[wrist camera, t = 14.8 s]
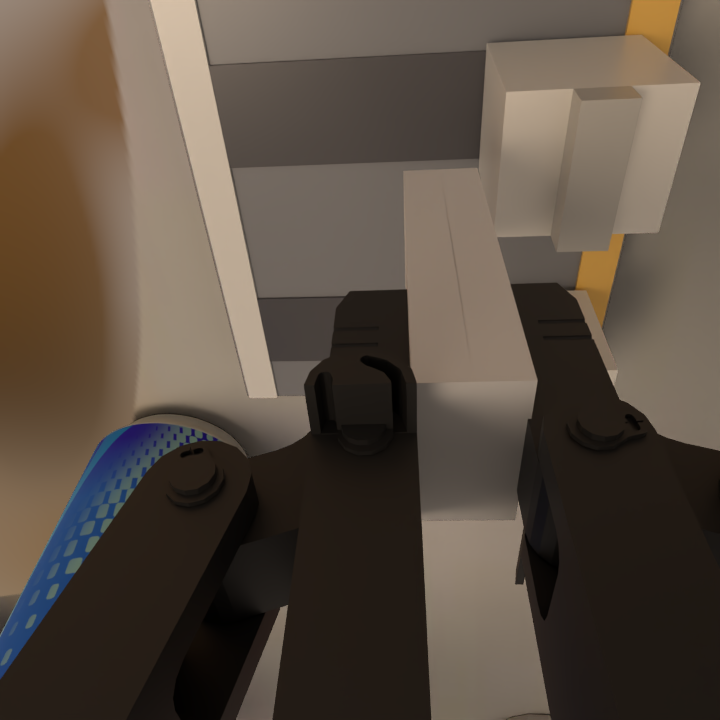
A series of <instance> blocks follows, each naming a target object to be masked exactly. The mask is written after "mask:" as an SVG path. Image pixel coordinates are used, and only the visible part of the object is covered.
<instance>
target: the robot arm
mask: <svg viewBox="0 0 720 720" xmlns="http://www.w3.org/2000/svg"><path fill="white" fill-rule="evenodd" d="M403 180H404V236H405V289H399V290H367V291H349V293H348V294H347V295H346V296H345V298H344V299H343V300H342V301H341V303H340V304H339V305H338V306H337V307H336V311H335V319H334V327H333V328H334V332H333V335H332V343H331V344H332V348H331V351H330V357H329V358H326V359H324V360H322V361H321V362H320V363H319V364H318V365H317V366H315V367H314V368H313V369H312V370H311V371H310V372H309V375H308V377H307V379H306V381H305V383H304V391H305V397H306V403H307V410H308V416H309V422H310V428H311V431H310V432H309V433H308V434H307V435H306V436H305V437H304V438H302V439H300V440H299V441H297V442H295V443H294V444H292V445H290V446H287V447H285V448H282V449H279V450H276V451H273V452H269V453H266V454H262V455H258V456H255V457H251V458H247V457H246V456H245V455H244V454H243V453H242V452H241V451H240V450H239V449H238V448H237V447H235V446H232V445H230V444H227V443H224V442H222V441H197V442H194V443H190V444H186V445H182V446H179V447H177V448H176V449H174V450H172V451H170V452H169V453H167V454H165V455H163V456H162V457H160V458H159V459H158V461H157V462H156V463H155V464H154V465H153V466H152V467H151V468H150V469H149V470H148V471H147V472H146V473H145V475H144V476H143V478H142V479H141V480H140V482H139V483H138V485H137V486H136V487H135V489H134V490H133V492H132V493H131V495H130V496H129V497H128V499H127V500H126V502H125V503H124V504H123V506H122V507H121V509H120V510H119V512H118V513H117V514H116V516H115V517H114V519H113V520H112V522H111V523H110V524H109V526H108V527H107V529H106V530H105V531H104V533H103V534H102V536H101V537H100V539H99V540H98V541H97V543H96V544H95V546H94V547H93V548H92V550H91V551H90V553H89V554H88V556H87V557H86V558H85V560H84V561H83V563H82V564H81V566H80V567H79V568H78V570H77V571H76V573H75V574H74V575H73V577H72V578H71V580H70V581H69V583H68V584H67V585H66V587H65V588H64V590H63V591H62V592H61V594H60V595H59V597H58V598H57V600H56V601H55V602H54V604H53V605H52V607H51V608H50V610H49V611H48V612H47V614H46V615H45V617H44V618H43V619H42V621H41V622H40V624H39V625H38V627H37V628H36V629H35V631H34V632H33V634H32V635H31V636H30V638H29V639H28V641H27V642H26V644H25V645H24V646H23V648H22V649H21V651H20V652H19V653H18V655H17V656H16V658H15V659H14V661H13V662H12V663H11V665H10V666H9V668H8V669H7V671H6V672H5V673H4V675H3V676H2V678H1V679H0V720H236V717H237V715H238V712H239V710H240V707H241V705H242V702H243V700H244V697H245V695H246V692H247V690H248V687H249V685H250V682H251V680H252V677H253V675H254V672H255V670H256V667H257V665H258V662H259V660H260V657H261V655H262V652H263V650H264V648H265V645H266V643H267V640H268V638H269V635H270V633H271V630H272V628H273V625H274V623H275V620H276V618H277V615H278V613H279V610H280V607H283V606H286V605H288V611H287V618H286V625H285V633H284V640H283V647H282V655H281V662H280V669H279V677H278V684H277V691H276V699H275V706H274V713H273V720H431V706H430V686H429V665H428V645H427V624H426V604H425V584H424V563H423V543H422V523H421V520H515V518H516V511H517V505H518V500H519V505H520V510H521V515H522V520H523V525H524V528H523V534H522V540H521V545H520V551H519V557H518V562H517V568H516V582H515V584H523V583H524V578H525V580H526V585H527V591H528V596H529V602H530V607H531V612H532V618H533V623H534V629H535V634H536V640H537V645H538V650H539V656H540V661H541V667H542V672H543V678H544V683H545V688H546V694H547V699H548V705H549V710H550V716H551V720H720V451H718V450H713V449H709V448H704V447H699V446H695V445H690V444H686V443H682V442H679V441H675V440H672V439H668V438H666V437H664V436H661V435H659V434H657V432H656V430H655V428H654V427H653V426H652V424H651V423H650V422H649V420H648V419H647V418H646V416H645V415H644V414H643V413H641V412H640V411H638V410H637V409H635V408H634V407H633V406H631V405H630V404H628V403H627V402H624V401H621V400H619V397H618V395H617V393H616V390H615V388H614V386H613V383H612V381H611V379H610V376H609V374H608V372H607V369H606V367H605V364H604V362H603V360H602V357H601V355H600V353H599V350H598V348H597V346H596V343H595V341H594V339H592V334H591V332H590V329H589V327H588V325H587V323H585V318H584V315H583V313H582V310H581V308H580V306H579V303H578V301H577V299H576V298H575V297H574V296H572V295H571V294H570V293H569V292H568V291H566V290H565V289H564V288H563V287H562V286H560V285H559V284H558V283H526V284H510V281H509V278H508V274H507V271H506V267H505V264H504V260H503V257H502V253H501V250H500V246H499V242H498V239H497V235H496V232H495V228H494V225H493V221H492V218H491V214H490V211H489V207H488V204H487V200H486V197H485V193H484V190H483V186H482V182H481V179H480V175H479V172H478V168H460V169H437V170H415V171H403Z"/></svg>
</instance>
